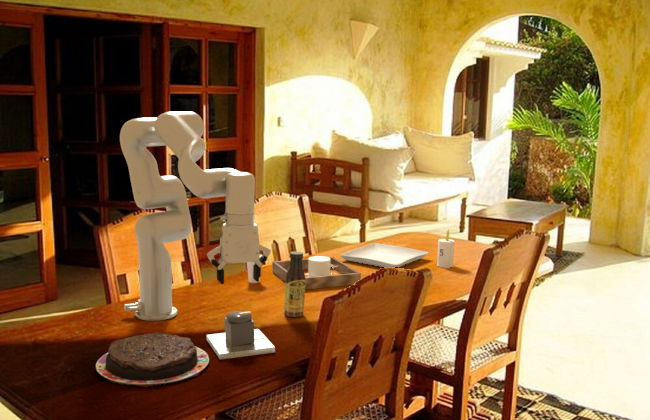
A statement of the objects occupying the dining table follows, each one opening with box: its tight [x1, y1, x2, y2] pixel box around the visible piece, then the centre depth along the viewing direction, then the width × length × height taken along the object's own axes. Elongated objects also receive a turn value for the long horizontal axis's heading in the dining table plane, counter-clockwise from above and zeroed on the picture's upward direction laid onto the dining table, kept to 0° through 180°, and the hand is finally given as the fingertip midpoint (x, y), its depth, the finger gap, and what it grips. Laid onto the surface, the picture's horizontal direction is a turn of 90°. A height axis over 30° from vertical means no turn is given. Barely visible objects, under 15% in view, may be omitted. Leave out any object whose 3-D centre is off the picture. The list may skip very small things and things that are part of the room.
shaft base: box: [206, 328, 276, 360], centre depth 192 cm, size 15×15×7 cm
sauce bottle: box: [283, 251, 306, 318], centre depth 217 cm, size 7×6×20 cm
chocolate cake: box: [95, 331, 210, 388], centre depth 178 cm, size 28×28×7 cm
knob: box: [224, 310, 255, 346], centre depth 191 cm, size 7×7×8 cm
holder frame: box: [271, 256, 362, 290], centre depth 262 cm, size 25×26×4 cm
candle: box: [436, 229, 455, 269], centre depth 282 cm, size 6×6×15 cm
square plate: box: [339, 242, 429, 268], centre depth 290 cm, size 27×27×4 cm
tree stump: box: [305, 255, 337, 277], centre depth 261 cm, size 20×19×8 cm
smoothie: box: [246, 254, 263, 284], centre depth 254 cm, size 6×6×14 cm
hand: (238, 281), depth 189 cm, fingers open, 9 cm apart
